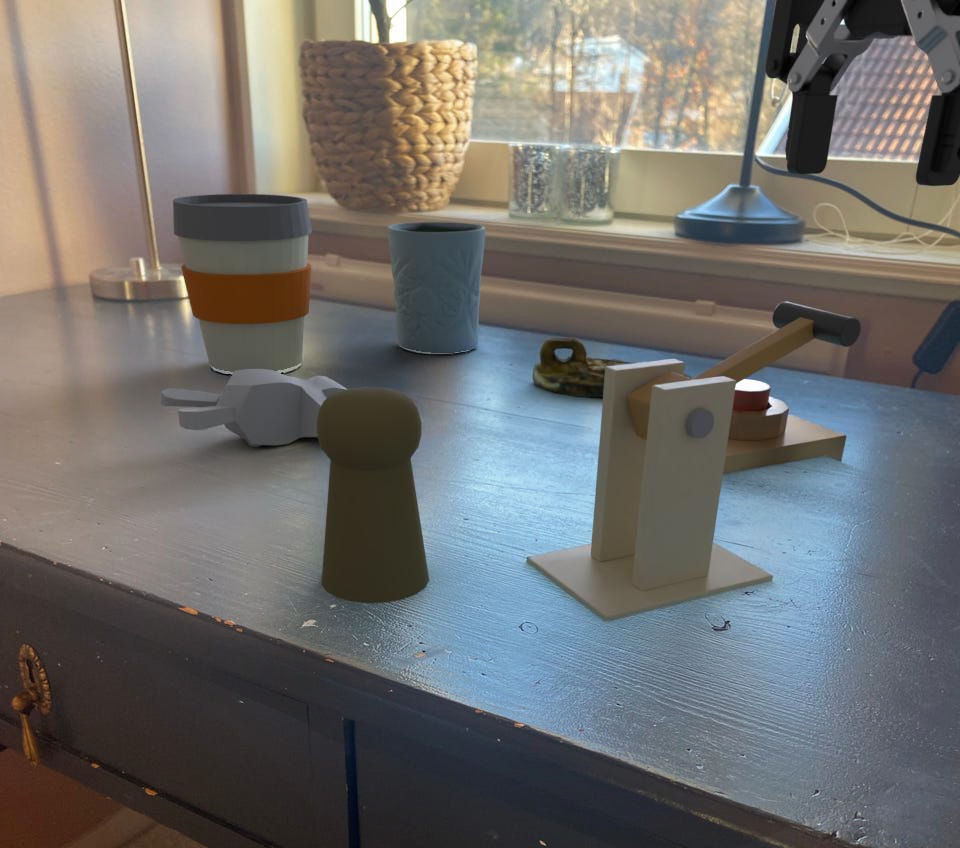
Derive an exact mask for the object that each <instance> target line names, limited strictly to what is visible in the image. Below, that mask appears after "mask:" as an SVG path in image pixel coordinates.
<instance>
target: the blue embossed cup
mask: <svg viewBox="0 0 960 848" xmlns="http://www.w3.org/2000/svg"><path fill="white" fill-rule="evenodd" d="M387 238H388V247H389V258H390V265H391V275H392V280H393V285H394V291H393V293H394V300H395V310H396V317H395V320H396V321H395V323H396V332H397V343H399V344H398V346H399V345H401V346H402V347H404V348H407V349H411V350H416V351H421V352H431V353H455V352H461V351H466V350H470V349H473V348H475V347H476V348H477V346H478V342H479V324H480V321H479V317H480V315H479V311H480V299H481V283H482V282H481V281H482V280H481V279H482V270H483V262H484V255H485V243H486V242H485V241H486V227H485V226H484V225H481V224H474V223H464V222H445V221H444V222H443V221H442V222H441V221H439V222H438V221H426V222H425V221H419V222H404V223H403V222H402V223H401V222H400V223H395V224H390V225H389V226H387ZM476 348H475V349H476Z"/></svg>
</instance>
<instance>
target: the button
mask: <svg viewBox="0 0 960 848" xmlns="http://www.w3.org/2000/svg"><path fill="white" fill-rule="evenodd" d="M771 389H772V388H771V386H770V385H769V384H768V383H766V382H764V381H759V380H754V379H747V378H745V379H743V380H742V381H740V382H738V383H736V388H735V395H734V401H733V408H732V410H737V411H755V412H757V411H764V410H767V407H768V401H769V397H770V393H771Z"/></svg>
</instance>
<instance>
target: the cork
mask: <svg viewBox="0 0 960 848" xmlns="http://www.w3.org/2000/svg"><path fill="white" fill-rule="evenodd" d="M346 389H347V390H342V391H339V392H336V393H334V394H332V395H331V396H329V397H328V398H327V399H325V400H324V402H323V403H322V405H321V407H320V409H319V413H318V418H317V435H318V437H317V439H318V442H319V445H320V448H321V450H322V451H323V453H324V455H326V456H327V458H328V459H329V460H330V462H329V472H328V473H329V474H328V489H327V504H326V515H325V528H324V529H325V531H324V532H325V533H324V541H323V543H324V544H323V555H322V572H321V585H322V587H323V588H324V590H325V591H326V592H327V593H328V594H330V595H332V596H334V597H335V598H338V599H341V600H345V601H348V602H351V603H363V604H382V603H383V604H384V603H390V602H394V601H395V602H396V601H401V600H405V599H407V598H410V597H412V596H416V595H417V594H419V593H420V592H422V591H423V590H424V589H425V588H427V585H428V583H429V581H430V578H429V577H430V575H429V568H428V563H427V557H426V550H425V543H424V537H423V531H422V530H423V529H422V523H421V516H420V509H419V505H418V496H417V490H416V484H415V478H414V471H413V465H412V457H413V456H414V454H415V453H416V451H417V450H418V448H419V447H420V442H421V439H422V420H421V416H420V412H419V408H418V406H417V405H416V403H415V402H414V400H413V398H411V397H409V395H407V394H405V393H404V392H401V391H399V390H396V389H391V388H387V387H386V388H385V387H376V386H363V387H353V388H346Z"/></svg>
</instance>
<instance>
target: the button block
mask: <svg viewBox="0 0 960 848" xmlns="http://www.w3.org/2000/svg"><path fill="white" fill-rule="evenodd" d="M789 412H790V407H789V406H788V404H786V403H785V401H783V400H780V399H778V398H775V397H772V396H769V401H768V407H767V410H764V411H757V412H755V411H737V410H732V415H731V422H730V429H729V436H728V443H727V449H726V456H725V463H724V470H723V475H728V474H733V473H738V472H744V471H749V470H755V469H760V468H765V467H771V466H776V465H782V464H788V463H793V462H799V461H803V460H804V461H805V460H808V459H816V458H820V457H825V456H826V457H829V458H830V459H833V460H836V461H838V462H842V461H843V455H844V450H845V446H846V441H847V434H844V433H842V432H839V431H836V430H835V429H834V430H833V429H830V428H828V427H825V426H823V425H821V424H817V423H815V422H812V421H809V420H806V419H804V418H801V417H799V416H795V415H793V414H790V413H789Z"/></svg>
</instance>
